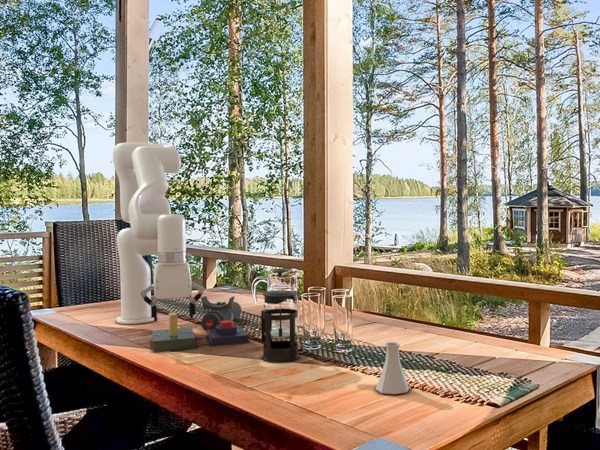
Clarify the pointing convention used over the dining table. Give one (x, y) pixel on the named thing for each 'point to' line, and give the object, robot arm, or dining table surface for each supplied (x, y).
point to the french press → (280, 349)
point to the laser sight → (219, 312)
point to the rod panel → (173, 340)
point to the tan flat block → (173, 324)
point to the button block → (227, 335)
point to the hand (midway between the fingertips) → (173, 318)
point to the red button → (226, 323)
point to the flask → (392, 372)
